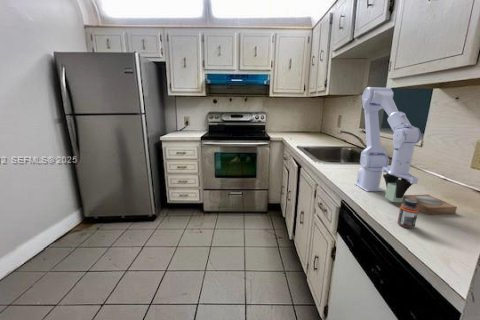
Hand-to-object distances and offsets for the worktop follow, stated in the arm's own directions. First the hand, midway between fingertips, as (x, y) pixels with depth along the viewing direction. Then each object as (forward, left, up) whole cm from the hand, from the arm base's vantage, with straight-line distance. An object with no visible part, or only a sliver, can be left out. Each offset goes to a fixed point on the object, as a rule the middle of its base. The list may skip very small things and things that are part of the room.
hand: (394, 195), depth 87 cm
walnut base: (+5, +10, -3) cm, 11 cm away
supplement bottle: (+16, -9, -3) cm, 19 cm away
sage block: (0, 0, -2) cm, 2 cm away
